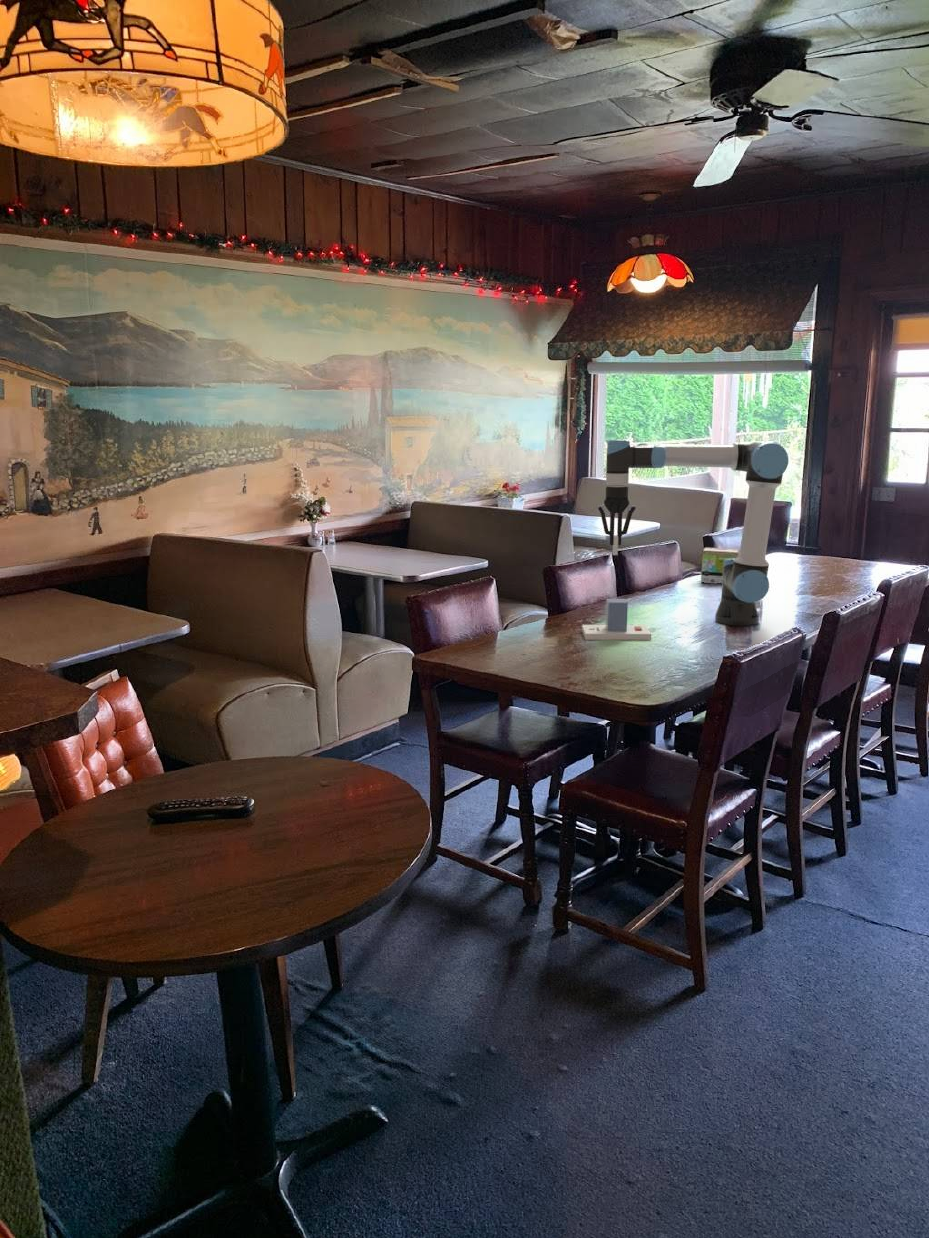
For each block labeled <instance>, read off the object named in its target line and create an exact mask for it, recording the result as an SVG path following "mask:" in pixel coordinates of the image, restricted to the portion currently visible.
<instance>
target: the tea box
mask: <svg viewBox="0 0 929 1238" xmlns="http://www.w3.org/2000/svg"><path fill="white" fill-rule="evenodd" d="M739 554H740V549H739V548H723V547H722V548H721V547H704V548H703V551H702V557H701V558H702V560H701V561H702V562H701V572H700V583H701V582H704V584H705V583H706V584H717V583H722V576H723V568H722V567H723V563H724V560H725V559H736V558H737V557H738V556H739Z"/></svg>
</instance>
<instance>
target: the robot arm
mask: <svg viewBox="0 0 929 1238" xmlns="http://www.w3.org/2000/svg"><path fill="white" fill-rule="evenodd" d="M606 447H607V448H606V467H605V468H606V471H605V472H606V473H605V475H606V476H605V477H606V479H605V485H606V487H605V499H604V501H603V504H601V505H598V506H597V510H598V511H599V513H600V517H601V522H602V526H603V530H604V531H603V532H604V533H605V535H608V536H609V545H610V546H612V552H611V553H612V556H618V555H619V553H618V552H619V546H621V545H622V537H623V535H627V534H628V530H629V527H630V522H631V519H632V516H633V513H634V511H635V510H636V507H635V505H632V504H630V501H629V487H628V485H629V479H630V478H629V474H630V473H629V471H630V469H662V468H664V467H686V468H687V467H689V468H691V467H693V468H730V469H731V470H732V471H734V472H735V471H737V472H738V471H739V472H746V474H745V482H746V484H747V485H748V492H747V493H748V494H747V500H746V506H745V514H744V520H743V527H742V534H741V541H740V549H739V555H738V557H737V558H736V559H725V560H724V563H723V567H722V568H723V576H722V584H721V598H720V602H719V605H718V606H717V607H718V608H717V610H716V612H715V617H714V618H715V619H714V621H716V623H720V624H723V625H726V626H727V625H728V626H737V627H740V626H741V627H742V626H743V627H744V626H745V627H746V626H747V627H748V626H754V625H758V624H759V622H760V621H759V619H760V618H759V617H760V616H759V612H758V610H757V609H758V608H757V605H756V602H760V601H761V600H763V599H764V598H765V597H766V596H767V594H768V592H769V589H770V581H769V578H768V573H769V572H768V571H769V565H770V564H769V562H768V561H767V560H766V555H767V549H768V541H769V536H770V529H771V523H772V515H773V509H774V503H775V497H776V491H777V488H778V487H779V486H781V485H782V482H783V481H782V480H783V477H784V476H783V475H784V473H785V471H786V470H787V469H788V466H789V454H788V452H787V451H786V449H785V447H783V446H782V444H779V443H778V442H776V441H770V440H769V441H768V440H756V441H747V442H734V443H732V444H731V445H727V444H726V445H725V444H724V445H722V444H721V445H719V444H715V445H714V444H674V443H673V444H668V443H667V444H665V443H663V444H661V443H658V444H656V443H643V442H642V443H639V444H637V445H631V442H630V440H629V439H610V440H609V441H607V446H606ZM606 509H607V511H608V513H609V514H610V515H609V517H610V518H609V527H608V523H607V522H608V521H607V517H606V514H605V510H606ZM626 509H627V514H626V516H625V517H626V518H625V521H624V526H623V513H624V511H626ZM616 514H617V527H616V530H617V531H616V532H617V534H616V535H615V520H616V519H615V517H616Z"/></svg>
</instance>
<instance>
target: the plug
mask: <svg viewBox="0 0 929 1238" xmlns="http://www.w3.org/2000/svg"><path fill="white" fill-rule="evenodd" d="M605 602H606V603H605V604H606V607H605V608H606V609H605V625H606V629H607V631H617V632H627V625H628V607H629V606H628V605H629V603H628V601H627V599H626V598H606V600H605Z"/></svg>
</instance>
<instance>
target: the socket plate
mask: <svg viewBox="0 0 929 1238" xmlns="http://www.w3.org/2000/svg"><path fill="white" fill-rule="evenodd" d="M581 631H582V633H583V637H584V640H589V641H591V640H594V641H595V640H599V641H601V640H603V641H604V640H605V641H607V640H609V641H610V640H617V641H619V640H621V641H622V640H625V641H628V640H633V641H634V640H635V641H642V640H643V641H644V640H646V641H650V640H652V632H651V631H650V629H649V628H648V627H647V625H646V624H627V632H617V631H607V629H606V624H582V626H581Z"/></svg>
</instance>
